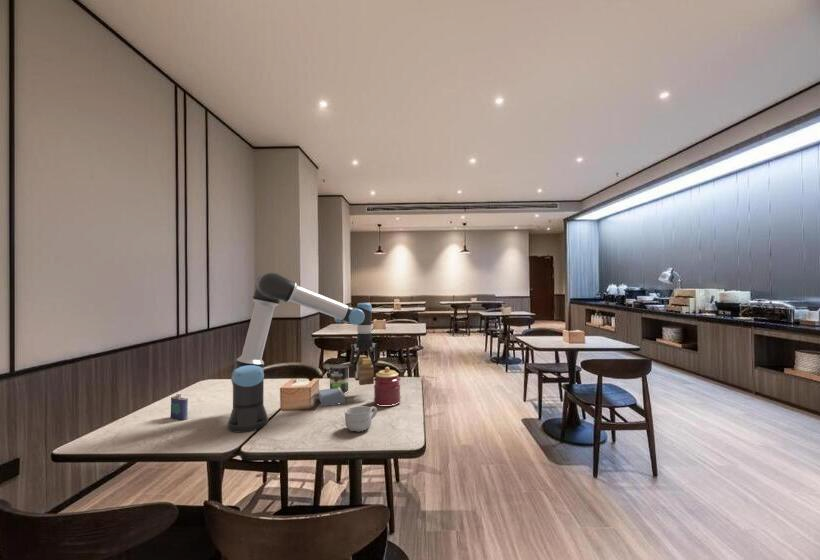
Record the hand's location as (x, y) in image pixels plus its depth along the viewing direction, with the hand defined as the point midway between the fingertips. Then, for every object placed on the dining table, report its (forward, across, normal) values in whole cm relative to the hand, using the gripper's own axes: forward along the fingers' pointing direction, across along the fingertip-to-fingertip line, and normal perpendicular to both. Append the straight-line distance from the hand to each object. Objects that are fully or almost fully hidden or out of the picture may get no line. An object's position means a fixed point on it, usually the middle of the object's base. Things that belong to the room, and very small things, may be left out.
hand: (364, 377), depth 187 cm
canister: (+10, -8, +14) cm, 19 cm away
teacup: (+11, +11, +41) cm, 44 cm away
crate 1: (-6, 0, -4) cm, 7 cm away
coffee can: (+11, +10, -14) cm, 20 cm away
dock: (+10, +17, 0) cm, 20 cm away
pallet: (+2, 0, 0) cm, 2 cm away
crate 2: (-6, 0, +4) cm, 7 cm away
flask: (+11, +83, 0) cm, 83 cm away
